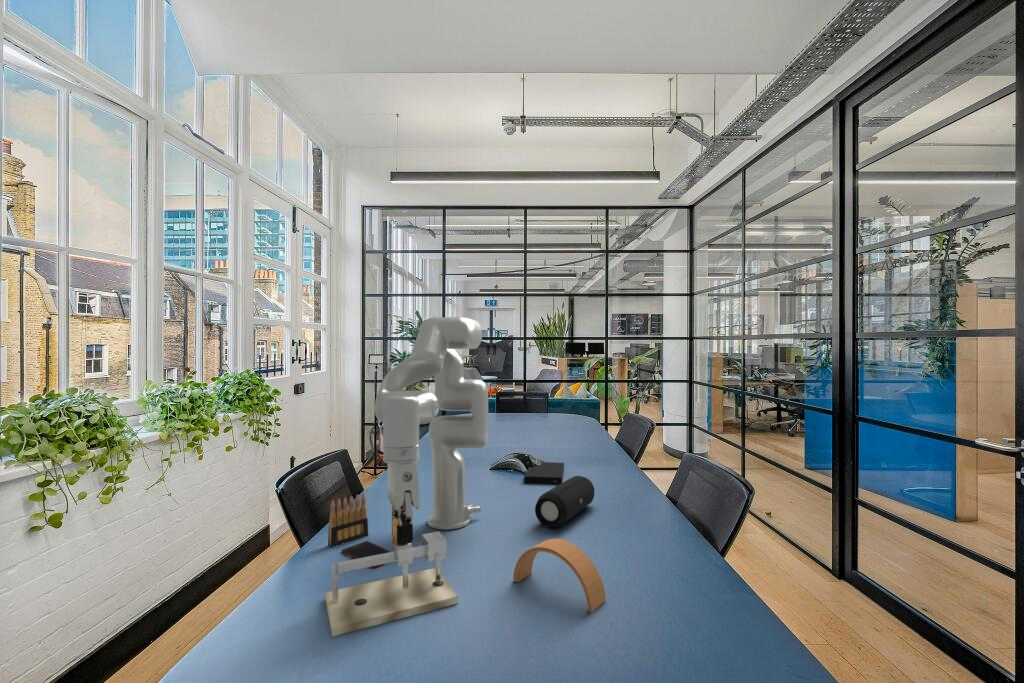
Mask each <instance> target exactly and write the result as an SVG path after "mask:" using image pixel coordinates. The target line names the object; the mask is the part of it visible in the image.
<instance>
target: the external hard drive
mask: <svg viewBox="0 0 1024 683" xmlns="http://www.w3.org/2000/svg"><path fill="white" fill-rule="evenodd" d="M564 472H565V462H552V461H551V462H548V461H546V462H543V461H542V464H541V465H537V466H534V467H529V466H528V468H527V470H526V473H525V475H524V477H523V480H524V481H523V482H524V484H527V485H528V484H529V485H551V486H552V485H555V486H558V485H560V484H561V483H563V482H564V481H563V480H564Z"/></svg>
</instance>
